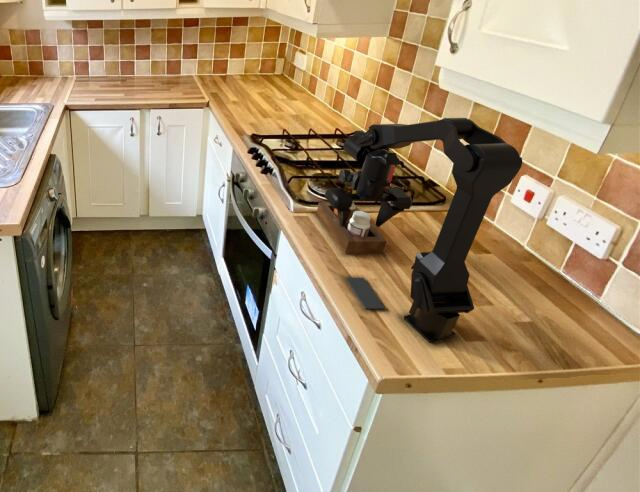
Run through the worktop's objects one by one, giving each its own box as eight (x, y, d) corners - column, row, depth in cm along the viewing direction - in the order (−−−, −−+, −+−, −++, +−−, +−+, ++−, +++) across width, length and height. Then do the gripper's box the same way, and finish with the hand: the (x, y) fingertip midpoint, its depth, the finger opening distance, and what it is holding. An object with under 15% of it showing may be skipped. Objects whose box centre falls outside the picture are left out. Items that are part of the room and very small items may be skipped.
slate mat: (384, 309, 87) (384, 308, 87) (365, 309, 87) (365, 308, 87) (363, 278, 95) (363, 277, 95) (345, 278, 95) (346, 277, 95)
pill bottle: (358, 235, 110) (366, 209, 106) (368, 247, 105) (376, 220, 102) (340, 236, 109) (348, 209, 106) (350, 247, 105) (358, 221, 102)
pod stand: (348, 213, 119) (352, 201, 117) (382, 254, 103) (387, 241, 101) (315, 213, 119) (318, 202, 117) (344, 254, 103) (348, 241, 101)
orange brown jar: (354, 227, 113) (360, 208, 110) (339, 230, 112) (344, 211, 109) (341, 217, 117) (346, 198, 114) (326, 220, 116) (331, 200, 113)
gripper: (394, 157, 106) (378, 208, 112) (321, 157, 106) (310, 208, 112) (422, 179, 96) (402, 233, 102) (342, 179, 96) (328, 233, 102)
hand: (359, 226), depth 105 cm, fingers open, 9 cm apart
